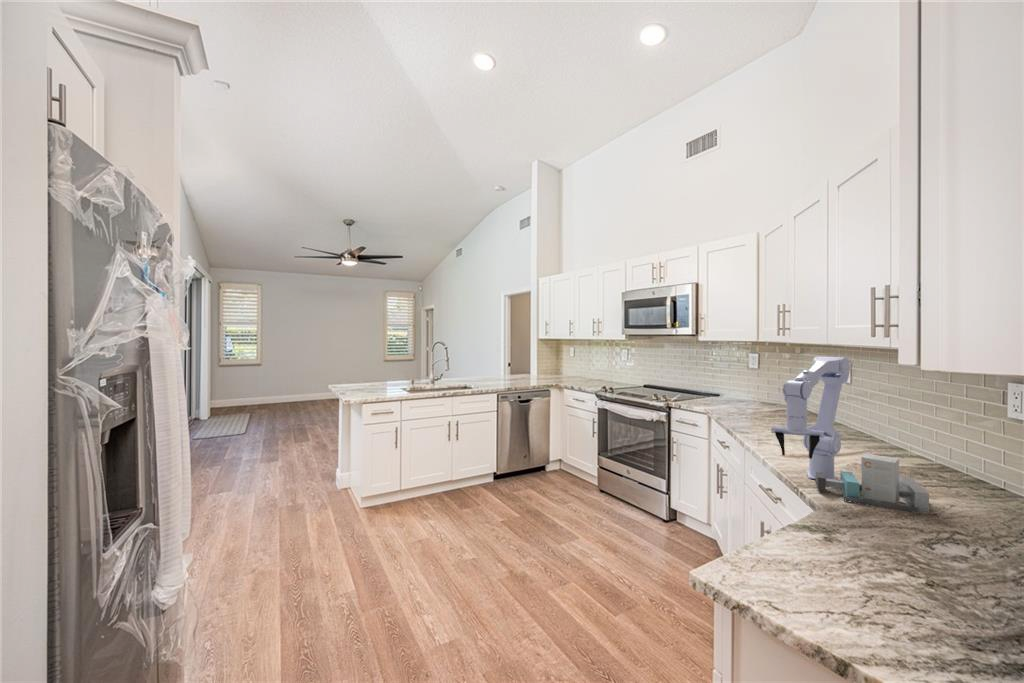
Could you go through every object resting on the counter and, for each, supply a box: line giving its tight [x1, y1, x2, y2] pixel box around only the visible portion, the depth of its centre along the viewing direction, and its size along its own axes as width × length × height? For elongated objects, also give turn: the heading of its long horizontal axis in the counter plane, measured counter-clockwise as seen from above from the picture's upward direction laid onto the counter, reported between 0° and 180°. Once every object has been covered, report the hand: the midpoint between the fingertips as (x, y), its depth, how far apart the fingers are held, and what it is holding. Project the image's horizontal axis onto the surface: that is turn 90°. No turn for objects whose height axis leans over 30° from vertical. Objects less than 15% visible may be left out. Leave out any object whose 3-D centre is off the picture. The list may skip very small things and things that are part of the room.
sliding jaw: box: [815, 470, 860, 498], centre depth 133 cm, size 11×10×6 cm
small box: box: [860, 453, 900, 503], centre depth 127 cm, size 8×6×13 cm
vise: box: [842, 475, 930, 515], centre depth 127 cm, size 15×19×6 cm
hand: (796, 456), depth 138 cm, fingers open, 7 cm apart
